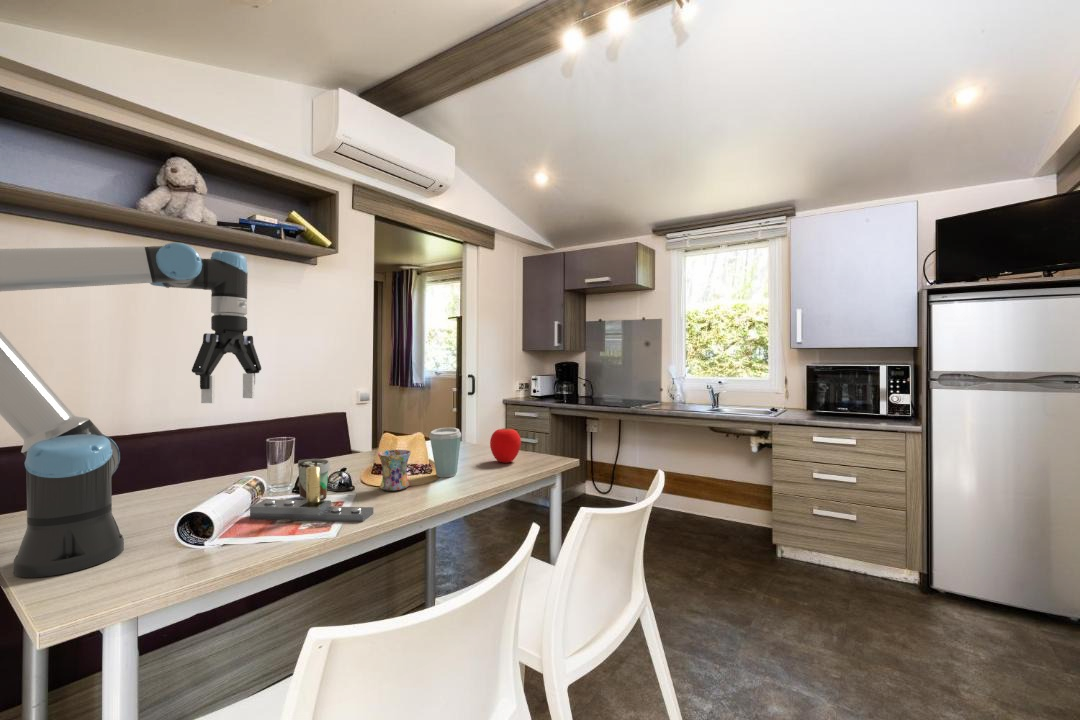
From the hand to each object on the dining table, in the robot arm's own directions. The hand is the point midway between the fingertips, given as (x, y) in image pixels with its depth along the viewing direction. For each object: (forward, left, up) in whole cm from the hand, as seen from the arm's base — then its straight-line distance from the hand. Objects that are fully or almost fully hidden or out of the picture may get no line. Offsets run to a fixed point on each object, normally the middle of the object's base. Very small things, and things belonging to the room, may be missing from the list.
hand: (229, 400), depth 118 cm
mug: (+25, -32, -29) cm, 50 cm away
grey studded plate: (-1, -22, -28) cm, 36 cm away
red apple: (+60, -61, -29) cm, 90 cm away
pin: (-1, -22, -28) cm, 36 cm away
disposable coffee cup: (+40, -44, -29) cm, 66 cm away
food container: (+14, -15, -29) cm, 35 cm away
